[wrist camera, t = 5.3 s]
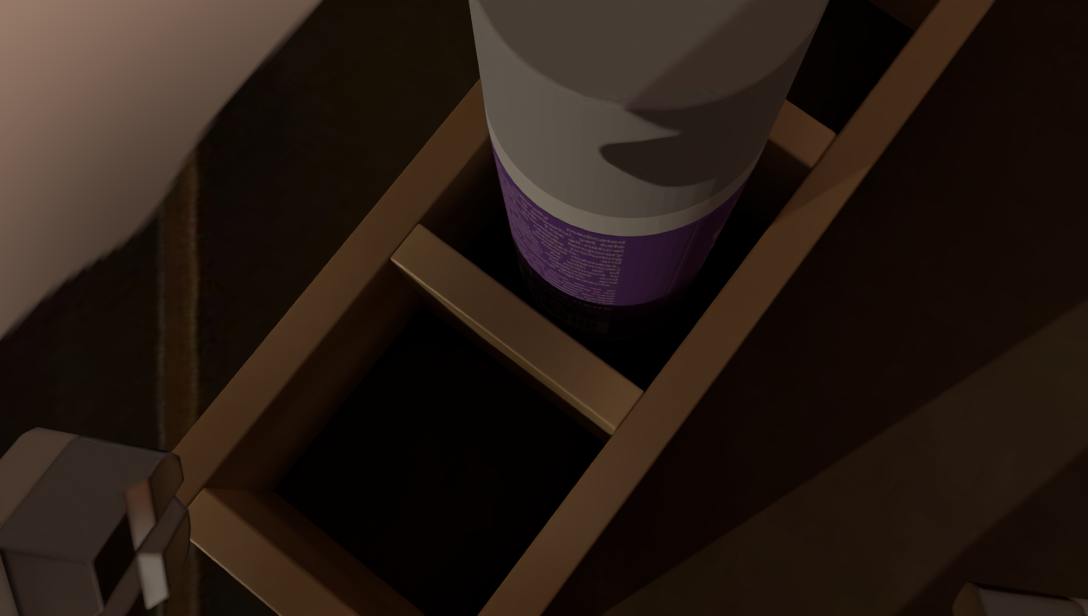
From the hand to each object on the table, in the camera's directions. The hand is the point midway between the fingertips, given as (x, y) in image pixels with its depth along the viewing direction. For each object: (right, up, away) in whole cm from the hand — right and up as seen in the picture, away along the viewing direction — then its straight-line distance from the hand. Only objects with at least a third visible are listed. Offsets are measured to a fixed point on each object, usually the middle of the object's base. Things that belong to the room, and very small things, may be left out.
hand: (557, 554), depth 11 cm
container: (+1, +4, +16) cm, 17 cm away
